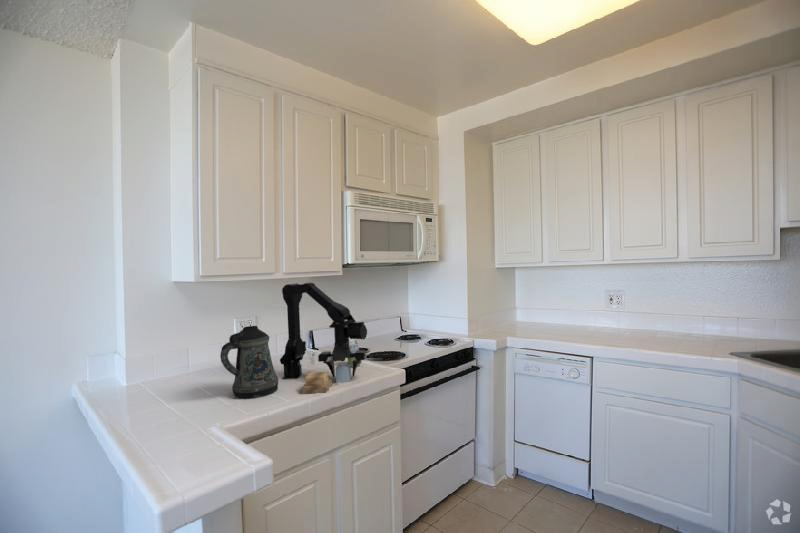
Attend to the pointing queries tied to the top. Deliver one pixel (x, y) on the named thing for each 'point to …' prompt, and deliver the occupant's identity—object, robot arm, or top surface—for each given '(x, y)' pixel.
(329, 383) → the bottom block
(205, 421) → the top surface
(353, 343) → the beverage can
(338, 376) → the slate block
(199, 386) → the top surface
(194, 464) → the top surface
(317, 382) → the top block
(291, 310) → the robot arm
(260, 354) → the beer stein
